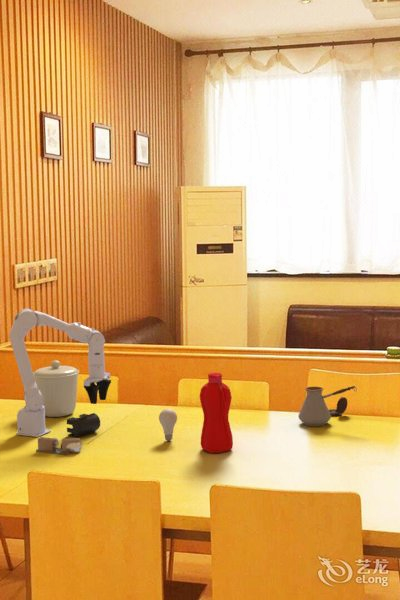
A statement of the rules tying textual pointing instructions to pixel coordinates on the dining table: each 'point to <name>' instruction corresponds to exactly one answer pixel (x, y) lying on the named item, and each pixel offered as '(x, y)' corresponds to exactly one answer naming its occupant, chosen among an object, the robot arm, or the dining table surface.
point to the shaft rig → (51, 444)
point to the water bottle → (216, 415)
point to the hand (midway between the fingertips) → (98, 401)
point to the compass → (339, 407)
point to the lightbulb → (168, 422)
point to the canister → (57, 388)
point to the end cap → (83, 425)
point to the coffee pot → (316, 406)
